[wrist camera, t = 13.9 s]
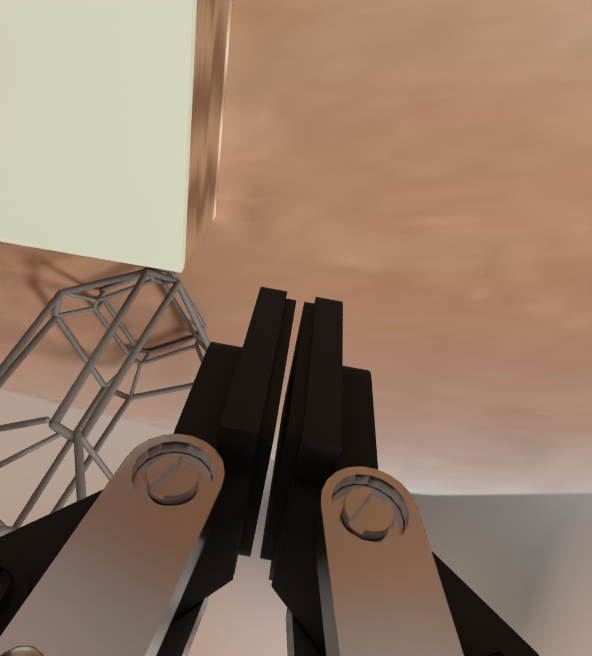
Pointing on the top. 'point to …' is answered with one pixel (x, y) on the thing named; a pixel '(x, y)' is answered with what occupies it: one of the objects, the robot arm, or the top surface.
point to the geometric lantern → (108, 390)
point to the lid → (97, 127)
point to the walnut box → (207, 116)
